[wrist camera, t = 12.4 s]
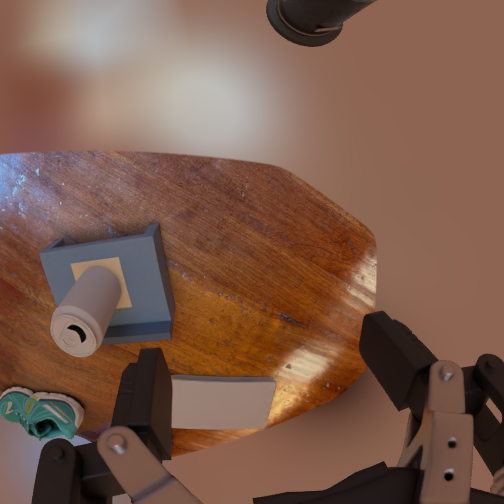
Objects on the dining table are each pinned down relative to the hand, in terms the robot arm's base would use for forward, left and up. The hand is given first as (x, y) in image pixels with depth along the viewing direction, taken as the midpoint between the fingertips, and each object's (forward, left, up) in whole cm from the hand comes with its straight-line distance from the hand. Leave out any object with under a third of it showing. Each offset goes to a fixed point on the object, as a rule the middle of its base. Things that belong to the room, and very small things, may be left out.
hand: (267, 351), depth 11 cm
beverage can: (+9, -18, -27) cm, 34 cm away
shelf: (+10, -18, -33) cm, 39 cm away
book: (+42, -5, -33) cm, 54 cm away
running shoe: (+41, -51, -33) cm, 73 cm away
